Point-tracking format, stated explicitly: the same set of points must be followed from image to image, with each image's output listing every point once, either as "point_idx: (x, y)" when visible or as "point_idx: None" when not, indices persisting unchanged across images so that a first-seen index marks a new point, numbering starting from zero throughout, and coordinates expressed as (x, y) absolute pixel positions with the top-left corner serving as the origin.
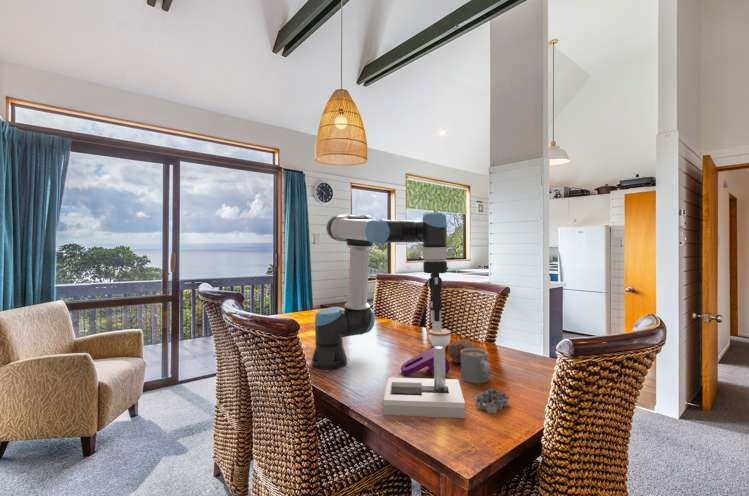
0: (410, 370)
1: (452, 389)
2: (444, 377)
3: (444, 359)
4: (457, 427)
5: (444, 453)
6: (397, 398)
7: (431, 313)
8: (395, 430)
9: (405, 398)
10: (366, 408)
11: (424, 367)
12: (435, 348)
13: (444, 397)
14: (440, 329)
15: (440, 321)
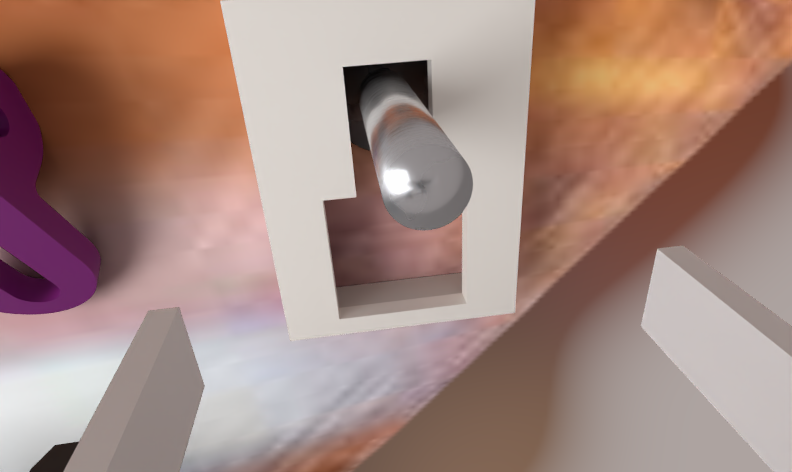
0: (94, 266)
1: (379, 40)
2: (417, 98)
3: (434, 125)
4: (585, 17)
5: (740, 69)
6: (501, 271)
7: (174, 463)
8: (596, 231)
9: (500, 244)
10: (457, 339)
11: (48, 205)
12: (449, 215)
13: (479, 83)
14: (698, 265)
15: (768, 319)
